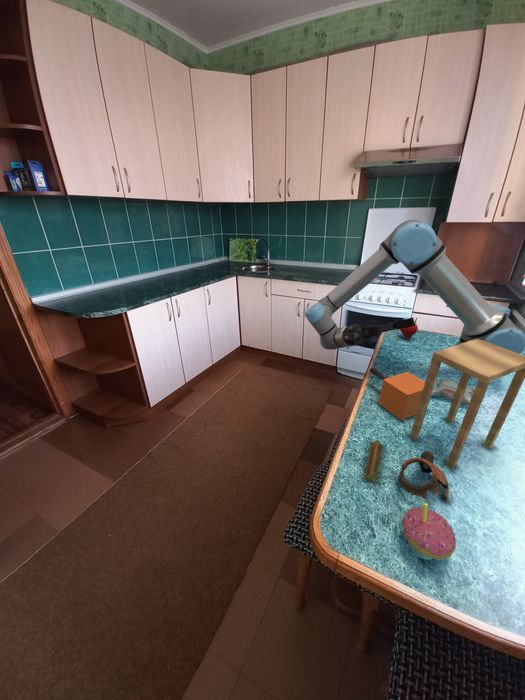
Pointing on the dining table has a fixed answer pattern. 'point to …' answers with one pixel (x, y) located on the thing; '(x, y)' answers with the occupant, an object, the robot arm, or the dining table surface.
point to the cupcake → (428, 533)
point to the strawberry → (409, 331)
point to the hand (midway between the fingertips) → (397, 325)
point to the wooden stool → (481, 365)
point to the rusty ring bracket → (427, 467)
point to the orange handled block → (400, 393)
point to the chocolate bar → (373, 462)
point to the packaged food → (452, 391)
